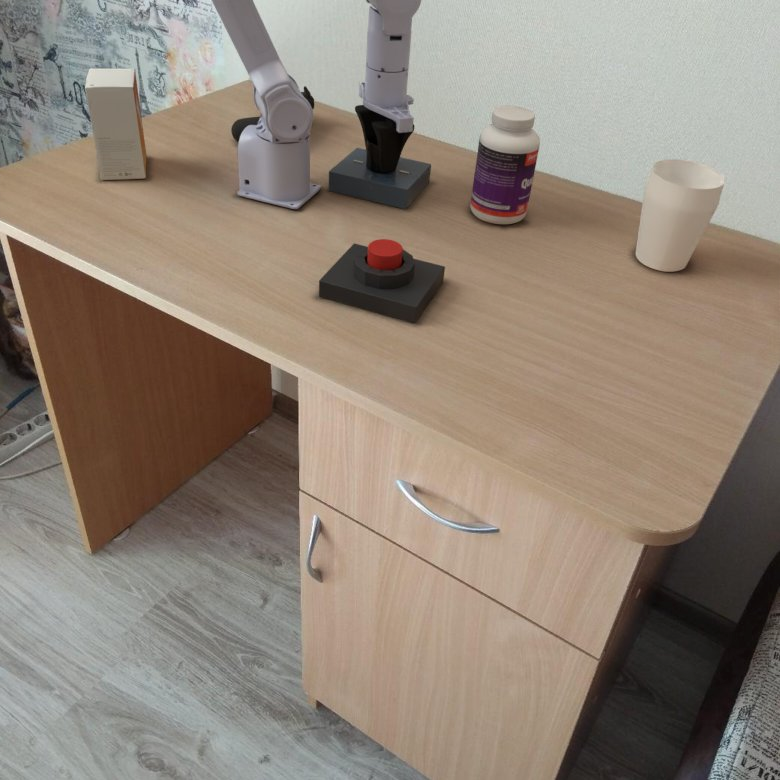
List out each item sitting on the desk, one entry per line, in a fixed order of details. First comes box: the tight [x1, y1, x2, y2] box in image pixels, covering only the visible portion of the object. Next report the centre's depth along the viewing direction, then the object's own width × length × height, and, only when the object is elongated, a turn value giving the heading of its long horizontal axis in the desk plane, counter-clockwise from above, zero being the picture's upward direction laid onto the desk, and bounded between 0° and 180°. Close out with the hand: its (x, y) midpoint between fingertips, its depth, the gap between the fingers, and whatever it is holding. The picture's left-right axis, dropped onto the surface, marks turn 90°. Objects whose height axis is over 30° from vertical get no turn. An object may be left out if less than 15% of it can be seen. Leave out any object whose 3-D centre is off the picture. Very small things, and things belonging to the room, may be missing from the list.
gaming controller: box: [230, 85, 315, 143], centre depth 126 cm, size 17×6×10 cm
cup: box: [635, 158, 726, 273], centre depth 99 cm, size 9×9×12 cm
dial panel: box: [328, 147, 432, 210], centre depth 113 cm, size 12×10×3 cm
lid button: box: [367, 238, 404, 270], centre depth 90 cm, size 4×4×2 cm
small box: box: [84, 67, 148, 181], centre depth 109 cm, size 8×6×13 cm
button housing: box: [318, 242, 446, 324], centre depth 91 cm, size 12×10×4 cm
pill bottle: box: [469, 105, 541, 225], centre depth 105 cm, size 8×8×14 cm
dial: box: [366, 135, 393, 173], centre depth 111 cm, size 4×4×4 cm
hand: (381, 163), depth 112 cm, fingers closed on dial, 4 cm apart
